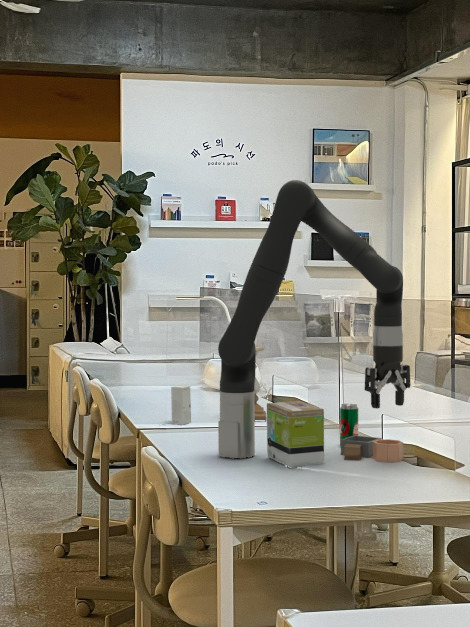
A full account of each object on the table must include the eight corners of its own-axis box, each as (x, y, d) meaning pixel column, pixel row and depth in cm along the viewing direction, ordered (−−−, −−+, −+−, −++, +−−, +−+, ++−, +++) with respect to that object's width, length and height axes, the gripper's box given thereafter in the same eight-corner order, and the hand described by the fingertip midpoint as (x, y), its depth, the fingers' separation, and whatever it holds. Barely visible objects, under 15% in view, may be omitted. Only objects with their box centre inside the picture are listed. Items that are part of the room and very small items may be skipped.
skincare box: (183, 425, 306) (183, 387, 305) (170, 424, 307) (170, 386, 307) (191, 422, 311) (191, 385, 311) (179, 421, 313) (179, 384, 313)
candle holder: (266, 421, 312) (265, 348, 311) (232, 421, 312) (232, 348, 311) (265, 416, 323) (265, 345, 322) (233, 416, 323) (232, 346, 322)
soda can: (357, 449, 262) (357, 406, 262) (339, 449, 264) (339, 405, 263) (358, 446, 267) (359, 403, 267) (340, 445, 268) (340, 403, 268)
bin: (368, 459, 248) (368, 442, 248) (340, 456, 252) (340, 439, 252) (381, 454, 255) (381, 438, 255) (354, 451, 259) (354, 435, 259)
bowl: (395, 465, 241) (395, 445, 241) (369, 462, 245) (369, 442, 245) (406, 460, 247) (406, 441, 247) (380, 457, 251) (380, 438, 251)
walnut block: (359, 463, 245) (359, 447, 245) (344, 462, 246) (344, 446, 246) (361, 459, 249) (361, 444, 248) (345, 459, 250) (345, 444, 249)
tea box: (265, 458, 251) (265, 402, 251) (300, 455, 255) (300, 400, 254) (289, 469, 237) (288, 409, 237) (325, 466, 241) (325, 407, 240)
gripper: (378, 345, 238) (378, 411, 238) (418, 343, 246) (417, 405, 247) (357, 344, 244) (357, 407, 244) (396, 341, 252) (396, 402, 253)
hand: (387, 406), depth 246 cm, fingers open, 8 cm apart
